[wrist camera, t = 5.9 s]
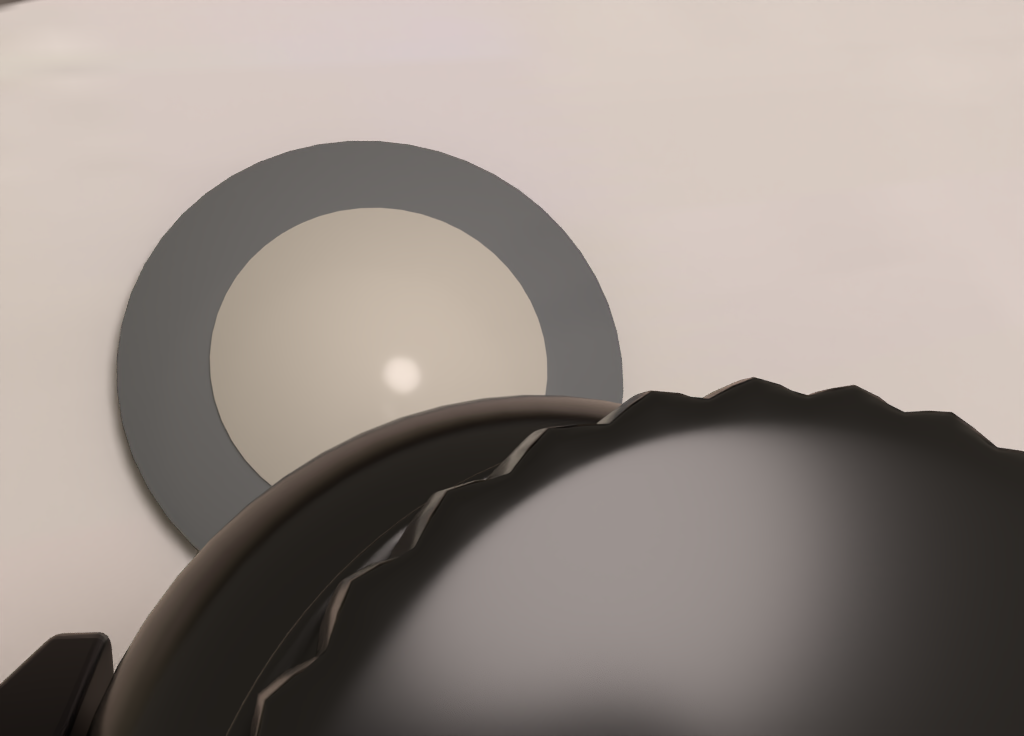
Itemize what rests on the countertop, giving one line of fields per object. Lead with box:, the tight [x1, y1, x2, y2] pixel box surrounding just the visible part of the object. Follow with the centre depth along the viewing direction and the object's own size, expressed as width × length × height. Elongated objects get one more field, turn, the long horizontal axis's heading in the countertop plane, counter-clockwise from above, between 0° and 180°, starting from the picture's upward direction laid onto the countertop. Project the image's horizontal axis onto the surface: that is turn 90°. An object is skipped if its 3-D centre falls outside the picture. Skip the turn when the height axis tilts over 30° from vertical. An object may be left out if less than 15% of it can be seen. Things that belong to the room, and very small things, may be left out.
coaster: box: [117, 141, 623, 551], centre depth 22 cm, size 12×12×1 cm
